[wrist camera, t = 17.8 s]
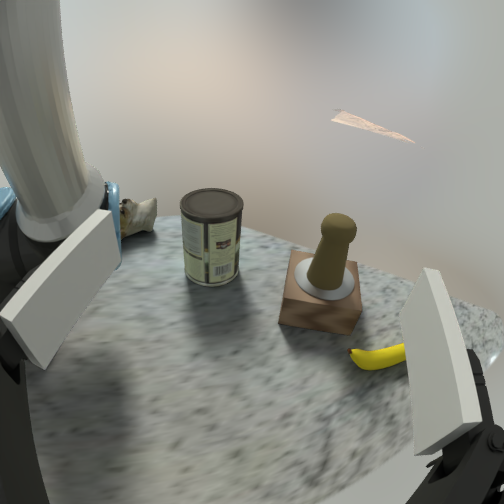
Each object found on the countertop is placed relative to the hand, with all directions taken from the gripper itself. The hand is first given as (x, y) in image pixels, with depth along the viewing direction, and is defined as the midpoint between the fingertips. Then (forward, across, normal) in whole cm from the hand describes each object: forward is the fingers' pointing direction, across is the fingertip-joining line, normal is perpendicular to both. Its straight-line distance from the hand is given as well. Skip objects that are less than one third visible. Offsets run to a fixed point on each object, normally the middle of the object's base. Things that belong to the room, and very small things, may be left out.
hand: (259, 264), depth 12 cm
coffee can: (+33, -12, -30) cm, 46 cm away
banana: (+18, +20, -30) cm, 41 cm away
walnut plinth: (+29, +8, -30) cm, 42 cm away
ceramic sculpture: (+38, -33, -30) cm, 59 cm away
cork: (+28, +8, -24) cm, 38 cm away
